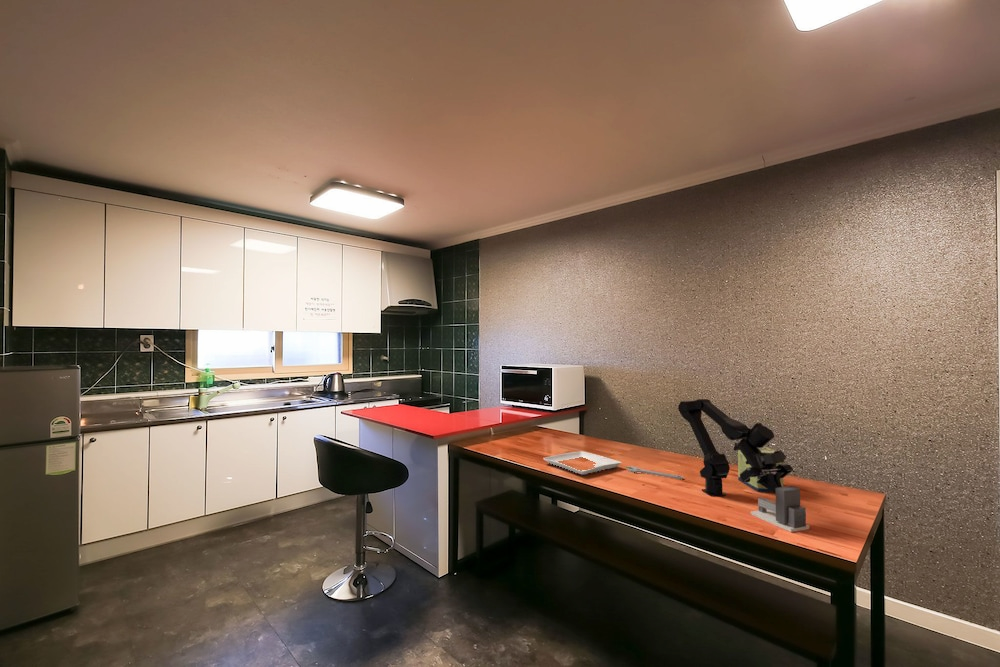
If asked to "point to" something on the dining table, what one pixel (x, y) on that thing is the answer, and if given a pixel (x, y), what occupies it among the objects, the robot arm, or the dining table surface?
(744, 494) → the dining table surface
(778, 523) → the white board
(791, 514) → the grey block cluster
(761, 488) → the protein box
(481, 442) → the dining table surface
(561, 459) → the square plate
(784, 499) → the tall gray block
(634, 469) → the adjustable wrench
